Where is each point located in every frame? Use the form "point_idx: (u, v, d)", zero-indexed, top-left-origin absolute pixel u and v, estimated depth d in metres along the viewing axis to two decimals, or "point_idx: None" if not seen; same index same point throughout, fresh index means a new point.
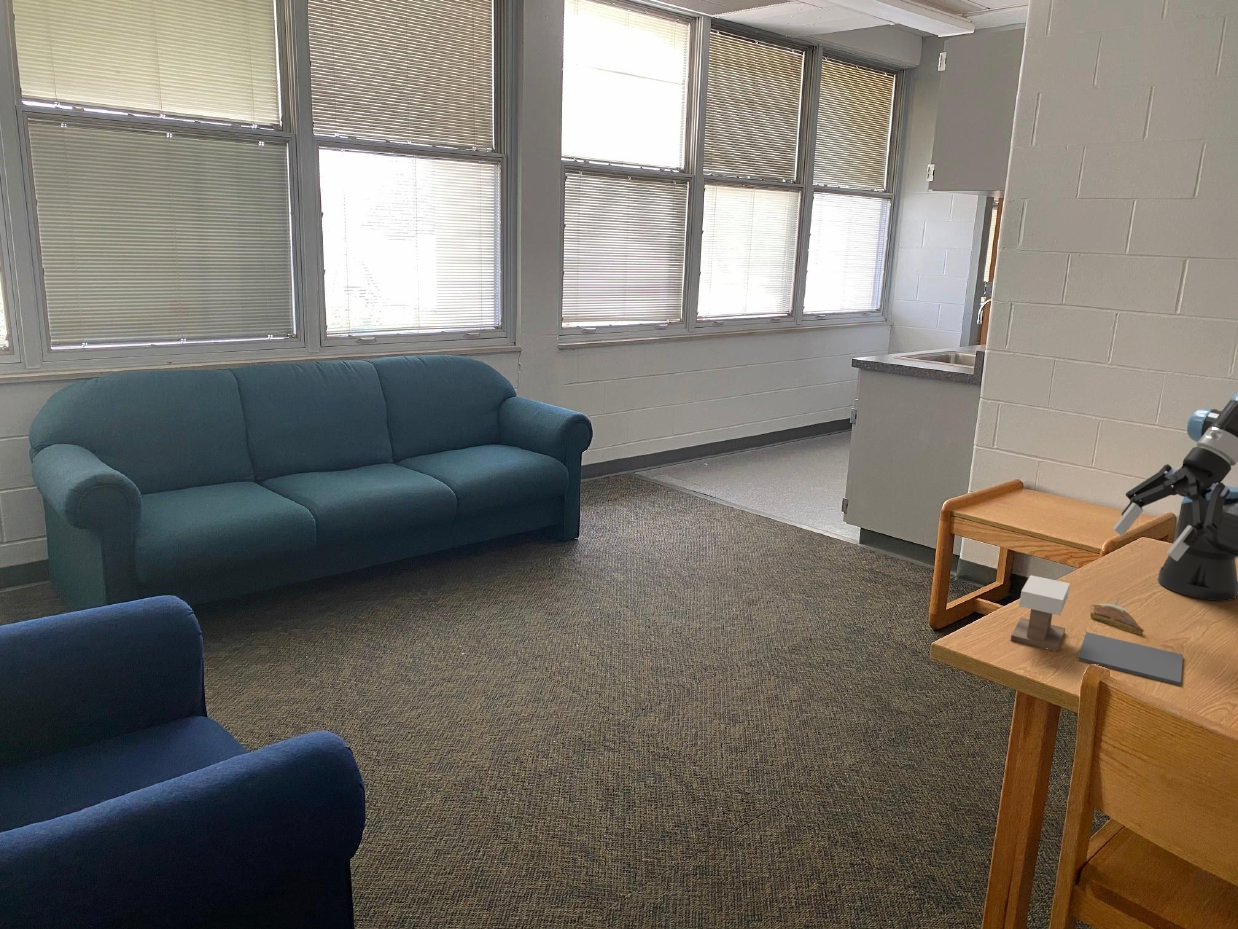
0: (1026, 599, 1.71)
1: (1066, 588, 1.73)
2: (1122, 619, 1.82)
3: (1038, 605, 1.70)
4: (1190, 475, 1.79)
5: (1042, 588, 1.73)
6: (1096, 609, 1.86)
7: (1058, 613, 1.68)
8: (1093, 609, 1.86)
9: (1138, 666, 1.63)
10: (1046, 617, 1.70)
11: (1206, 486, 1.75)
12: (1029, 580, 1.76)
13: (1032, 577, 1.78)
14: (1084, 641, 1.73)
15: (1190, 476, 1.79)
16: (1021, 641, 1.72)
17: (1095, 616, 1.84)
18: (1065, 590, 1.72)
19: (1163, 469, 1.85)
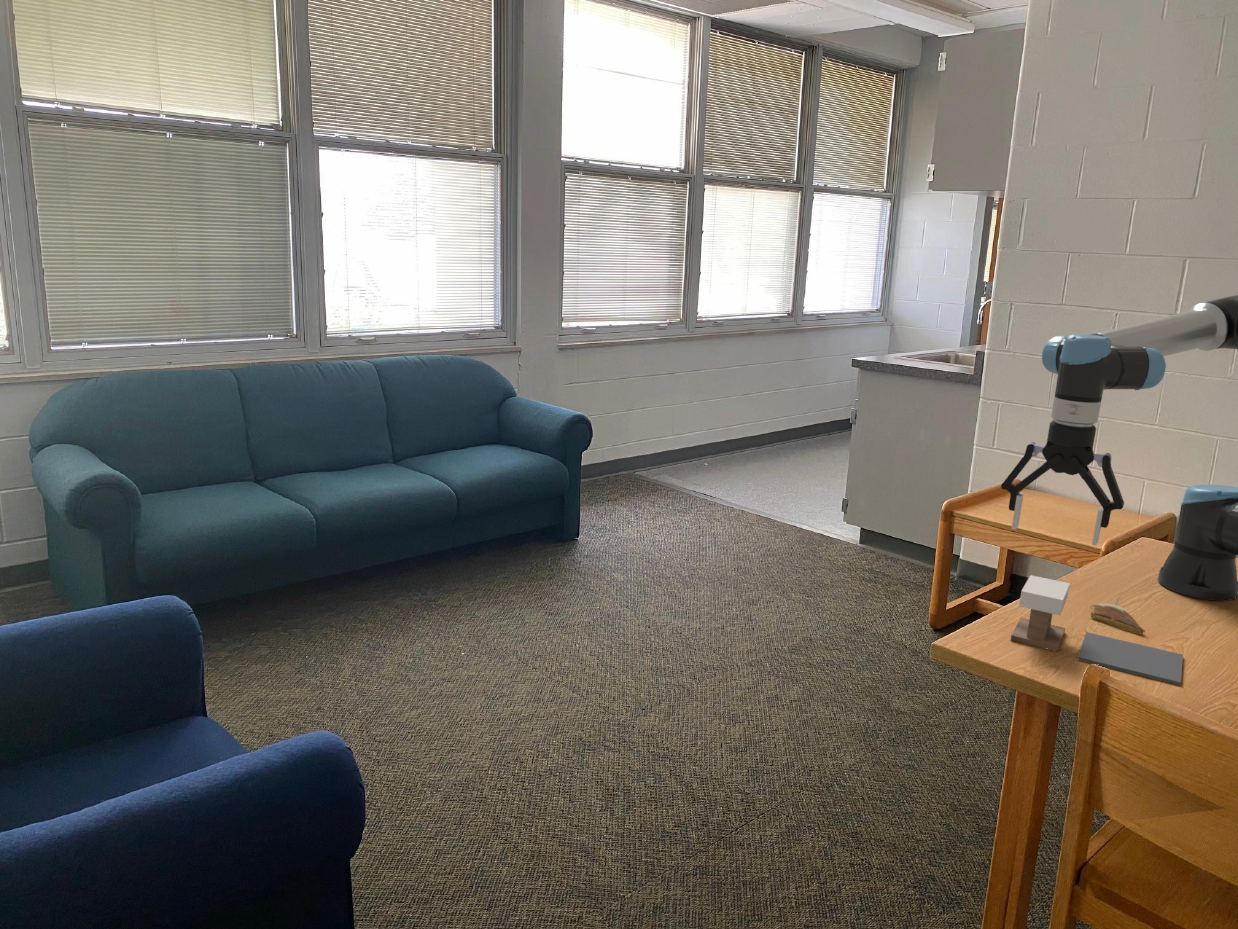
0: (1026, 599, 1.71)
1: (1066, 588, 1.73)
2: (1123, 619, 1.82)
3: (1038, 605, 1.70)
4: (1064, 452, 1.66)
5: (1042, 588, 1.73)
6: (1096, 609, 1.86)
7: (1058, 613, 1.68)
8: (1093, 609, 1.86)
9: (1138, 666, 1.63)
10: (1046, 617, 1.70)
11: (1090, 461, 1.64)
12: (1029, 580, 1.76)
13: (1032, 577, 1.78)
14: (1084, 641, 1.73)
15: (1065, 454, 1.66)
16: (1021, 641, 1.72)
17: (1096, 616, 1.84)
18: (1065, 590, 1.72)
19: (1028, 451, 1.69)
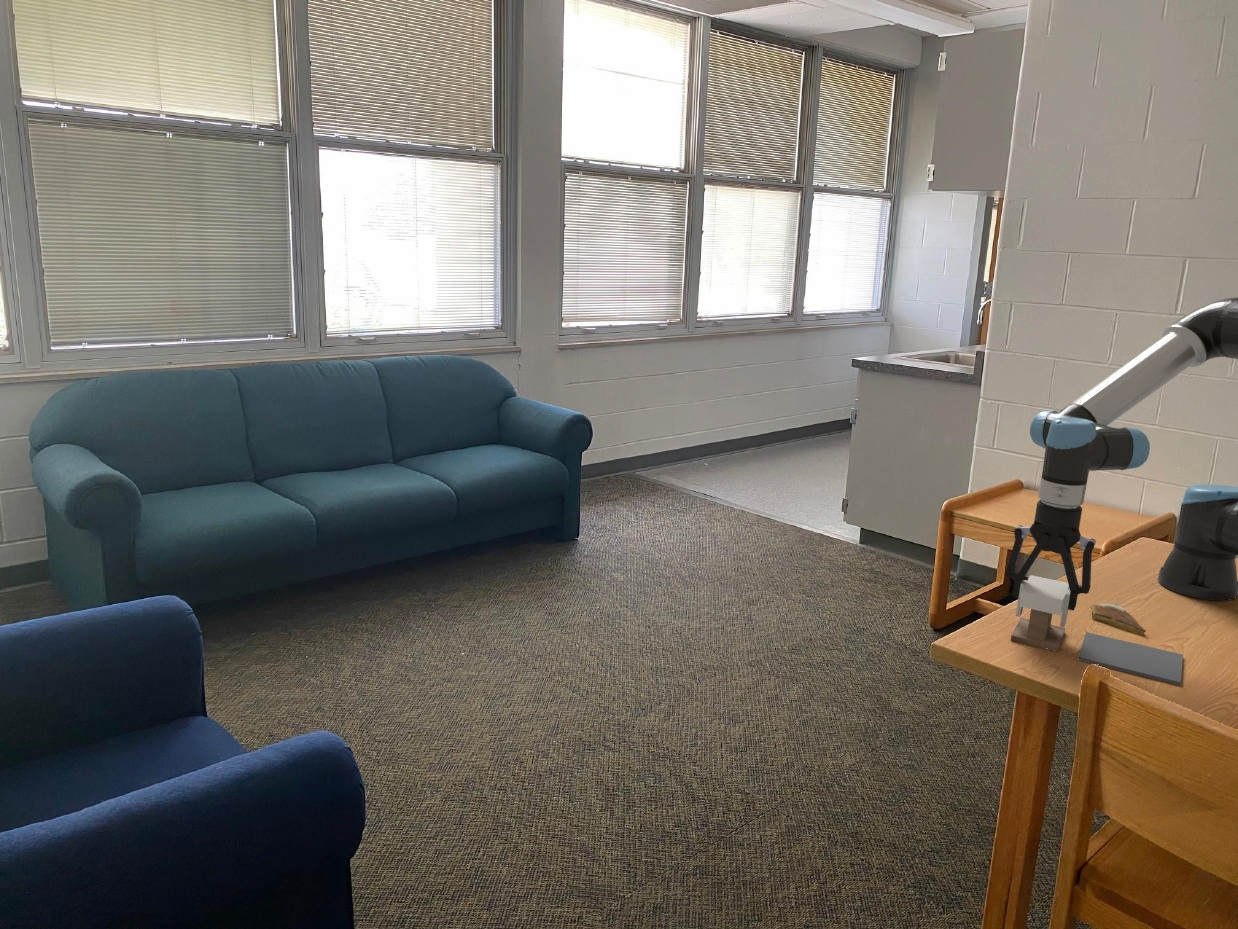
0: (1026, 599, 1.71)
1: (1066, 588, 1.73)
2: (1124, 619, 1.82)
3: (1038, 605, 1.70)
4: (1051, 527, 1.69)
5: (1042, 588, 1.73)
6: (1097, 609, 1.86)
7: (1058, 613, 1.68)
8: (1094, 609, 1.86)
9: (1138, 666, 1.63)
10: (1046, 617, 1.70)
11: (1074, 542, 1.68)
12: (1029, 580, 1.76)
13: (1032, 577, 1.78)
14: (1084, 641, 1.73)
15: (1052, 528, 1.69)
16: (1021, 641, 1.72)
17: (1096, 616, 1.84)
18: (1065, 590, 1.72)
19: (1017, 535, 1.73)
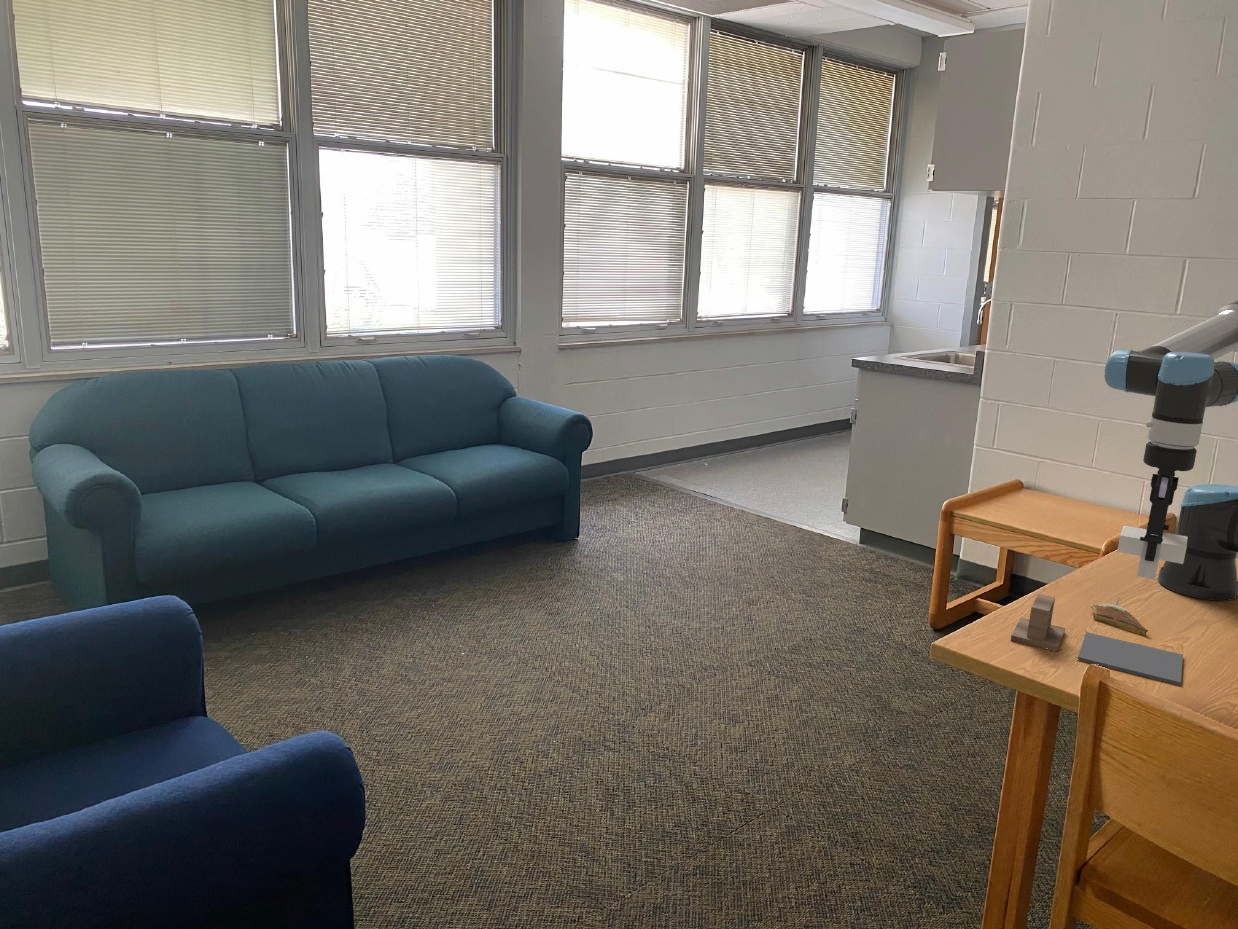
0: None
1: (1164, 543, 1.58)
2: (1125, 619, 1.82)
3: None
4: None
5: None
6: (1098, 610, 1.86)
7: None
8: (1095, 610, 1.86)
9: (1138, 666, 1.63)
10: (1046, 617, 1.70)
11: None
12: (1166, 533, 1.63)
13: (1180, 536, 1.62)
14: (1084, 641, 1.73)
15: None
16: (1021, 641, 1.72)
17: (1098, 617, 1.84)
18: None
19: None
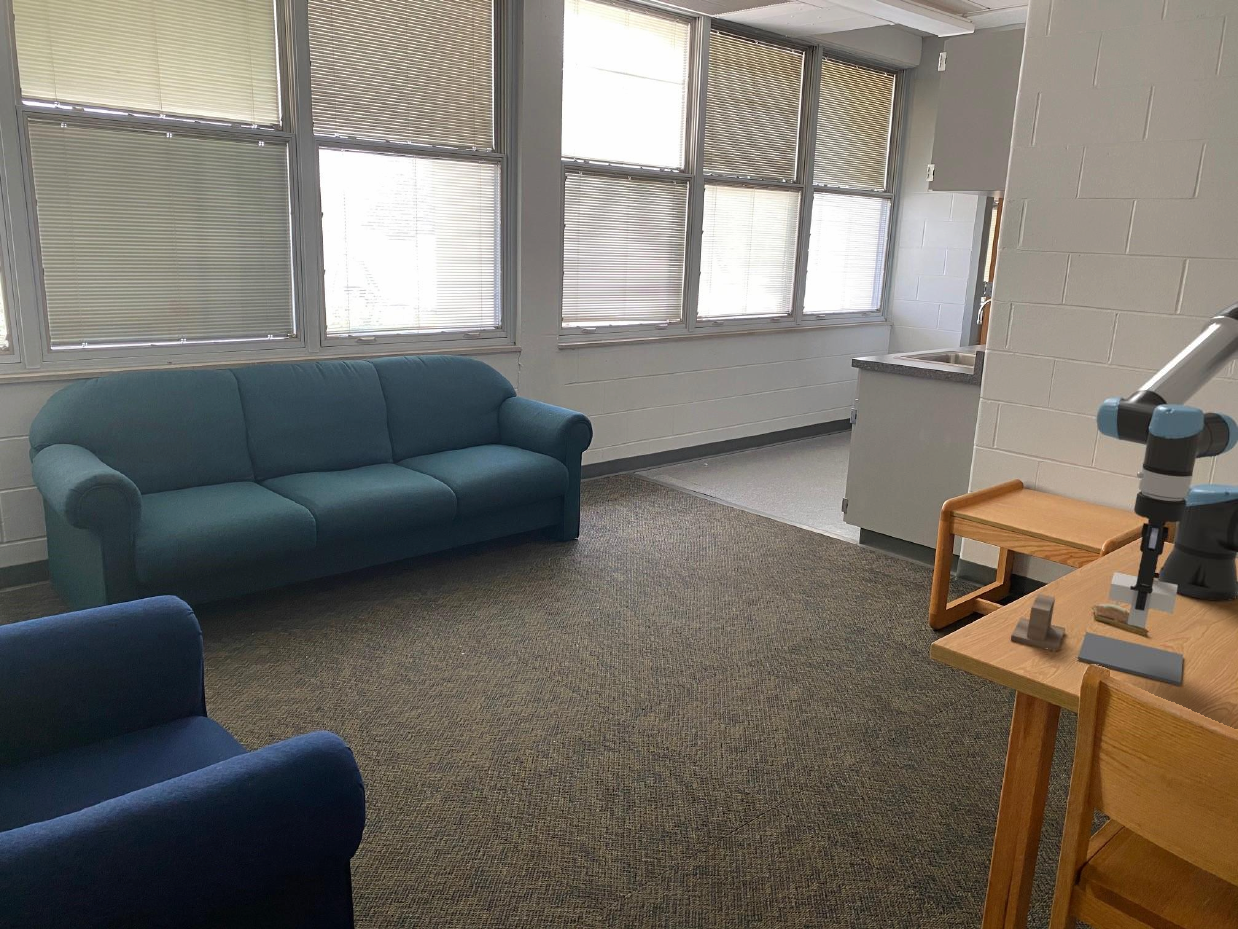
0: None
1: (1154, 592, 1.60)
2: (1126, 620, 1.82)
3: None
4: None
5: None
6: (1099, 610, 1.86)
7: None
8: (1096, 610, 1.86)
9: (1138, 666, 1.63)
10: (1046, 617, 1.70)
11: None
12: (1156, 581, 1.66)
13: (1170, 584, 1.64)
14: (1084, 641, 1.73)
15: None
16: (1021, 641, 1.72)
17: (1099, 618, 1.84)
18: None
19: None
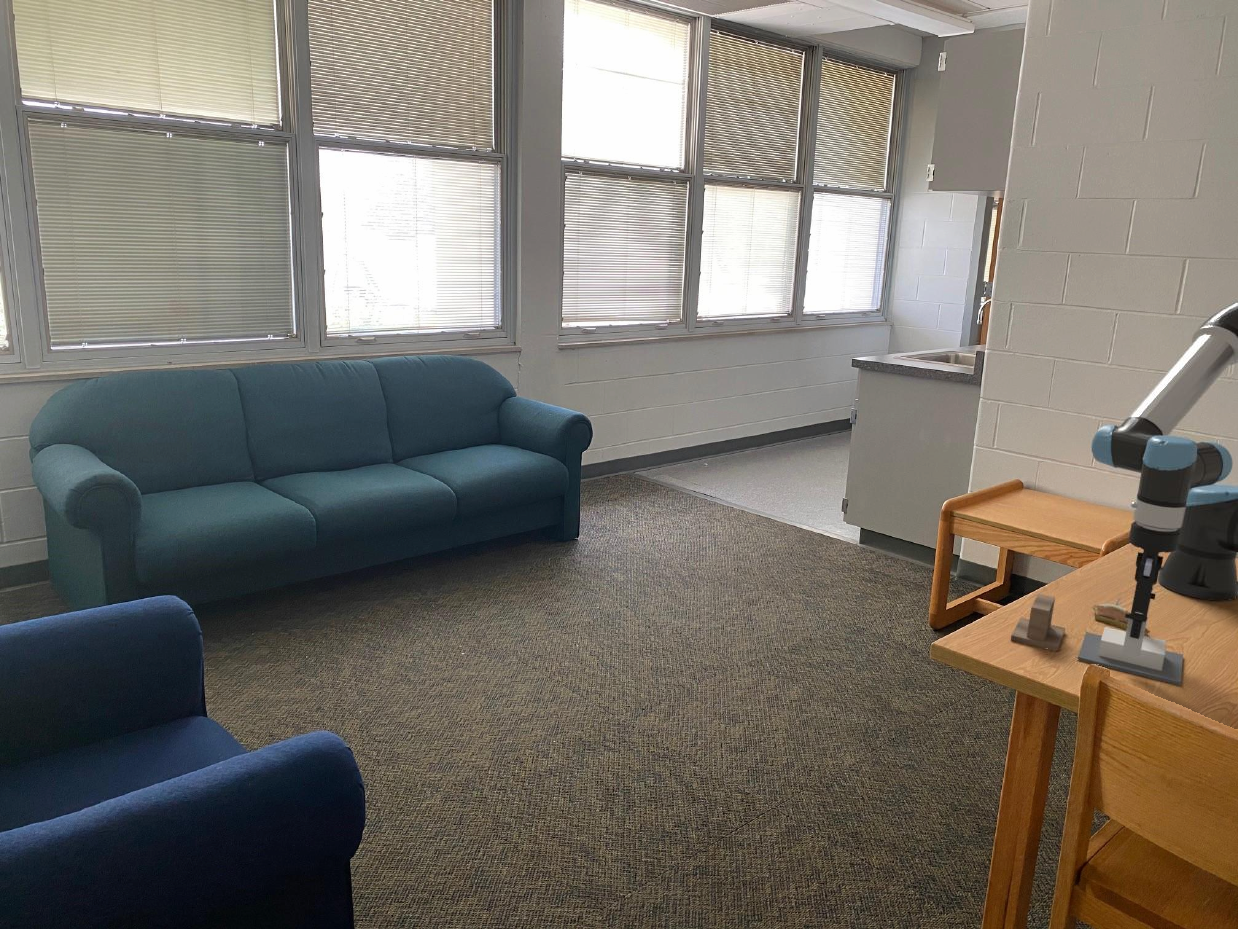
0: None
1: (1143, 649, 1.63)
2: (1127, 619, 1.82)
3: None
4: None
5: None
6: (1099, 610, 1.86)
7: None
8: (1096, 610, 1.86)
9: (1138, 666, 1.63)
10: (1046, 617, 1.70)
11: None
12: (1146, 636, 1.68)
13: (1159, 640, 1.67)
14: (1084, 641, 1.73)
15: None
16: (1021, 641, 1.72)
17: (1099, 617, 1.83)
18: None
19: None
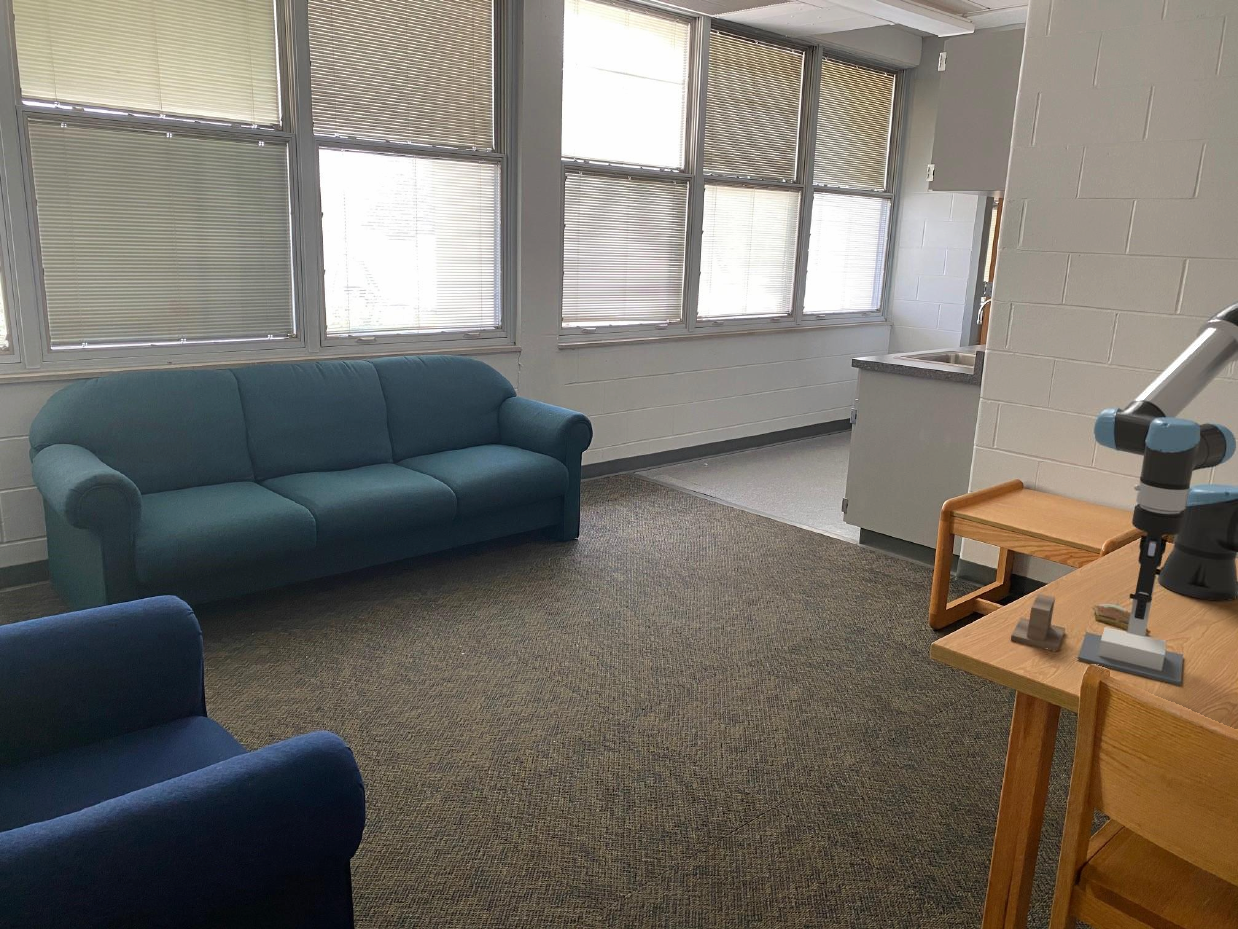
0: None
1: (1143, 649, 1.63)
2: (1127, 620, 1.82)
3: None
4: (1147, 535, 1.63)
5: (1128, 638, 1.68)
6: (1100, 610, 1.86)
7: None
8: (1097, 611, 1.86)
9: (1138, 666, 1.63)
10: (1046, 617, 1.70)
11: None
12: (1146, 636, 1.68)
13: (1159, 640, 1.67)
14: (1084, 641, 1.73)
15: (1147, 536, 1.63)
16: (1021, 641, 1.72)
17: (1100, 618, 1.83)
18: (1135, 647, 1.64)
19: None
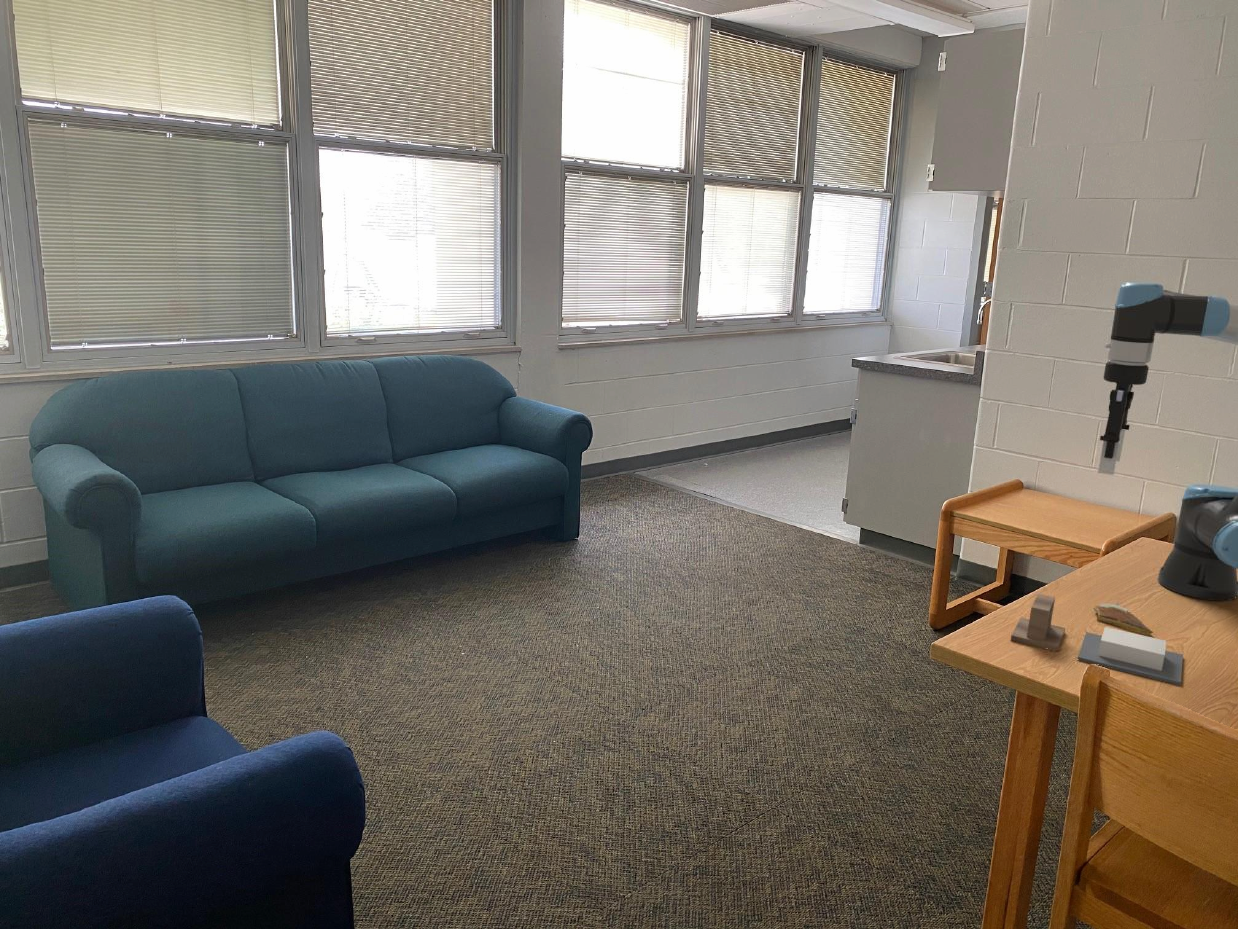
0: None
1: (1143, 649, 1.63)
2: (1129, 620, 1.82)
3: None
4: None
5: (1128, 638, 1.68)
6: (1101, 611, 1.85)
7: None
8: (1098, 611, 1.85)
9: (1138, 666, 1.63)
10: (1046, 617, 1.70)
11: None
12: (1146, 636, 1.68)
13: (1159, 640, 1.67)
14: (1084, 641, 1.73)
15: None
16: (1021, 641, 1.72)
17: (1102, 618, 1.83)
18: (1135, 647, 1.64)
19: None
